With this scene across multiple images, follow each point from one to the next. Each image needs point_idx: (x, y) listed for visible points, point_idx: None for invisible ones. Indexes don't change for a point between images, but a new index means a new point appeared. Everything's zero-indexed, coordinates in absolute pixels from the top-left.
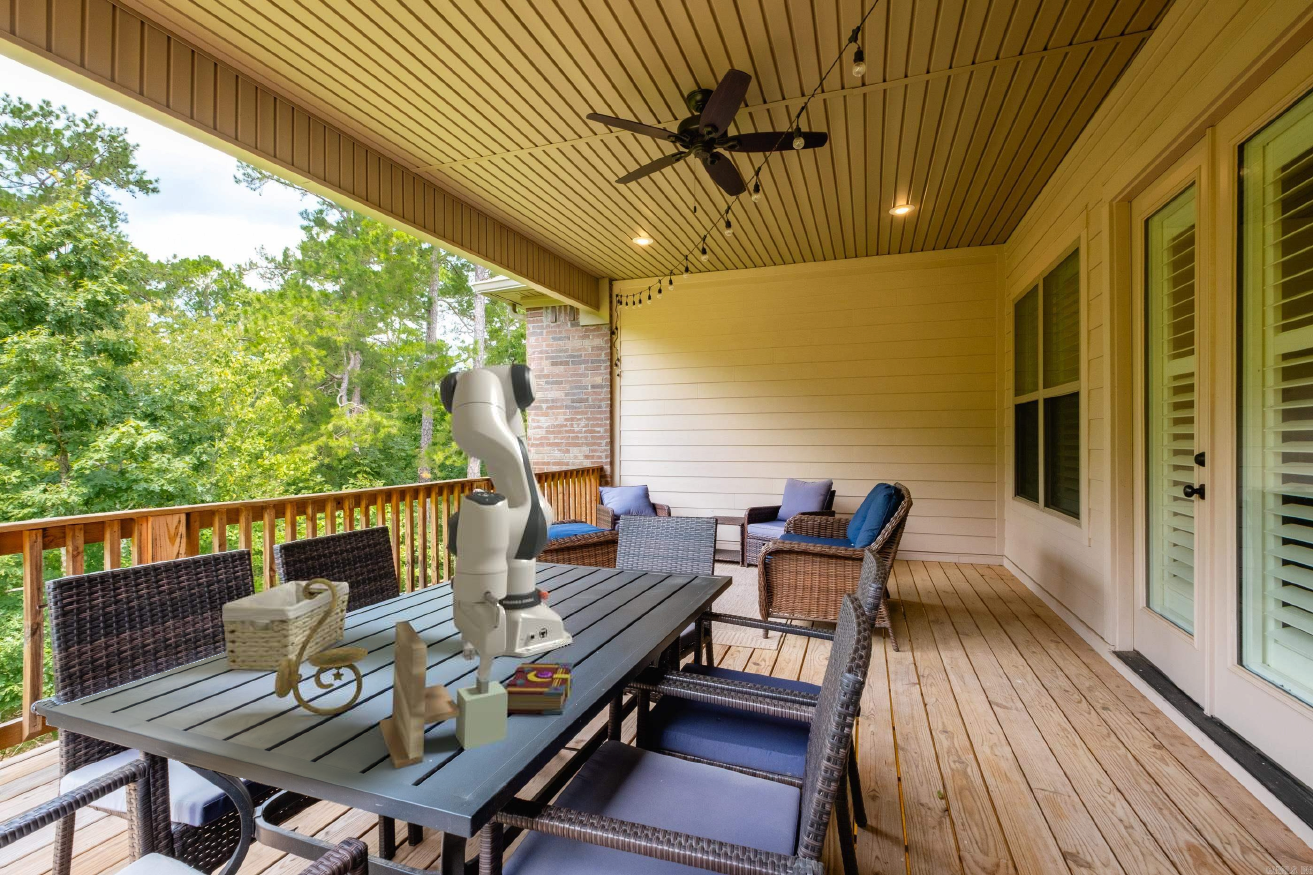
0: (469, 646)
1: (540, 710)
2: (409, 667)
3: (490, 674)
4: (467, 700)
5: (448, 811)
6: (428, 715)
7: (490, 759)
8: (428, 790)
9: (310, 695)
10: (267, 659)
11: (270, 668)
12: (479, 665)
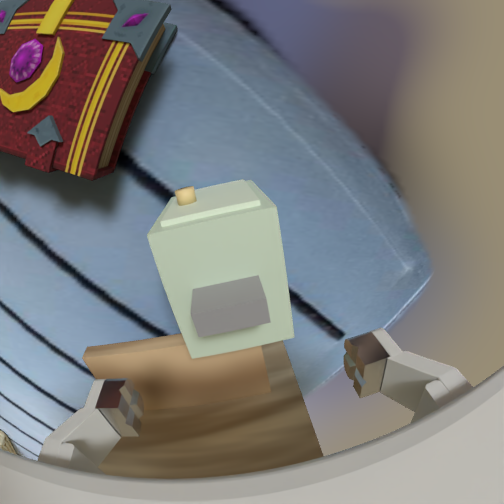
0: (102, 428)
1: (144, 77)
2: None
3: (384, 330)
4: (292, 333)
5: (418, 290)
6: (264, 383)
7: (327, 224)
8: (365, 319)
9: (49, 431)
10: (7, 450)
11: (9, 442)
12: (392, 395)
